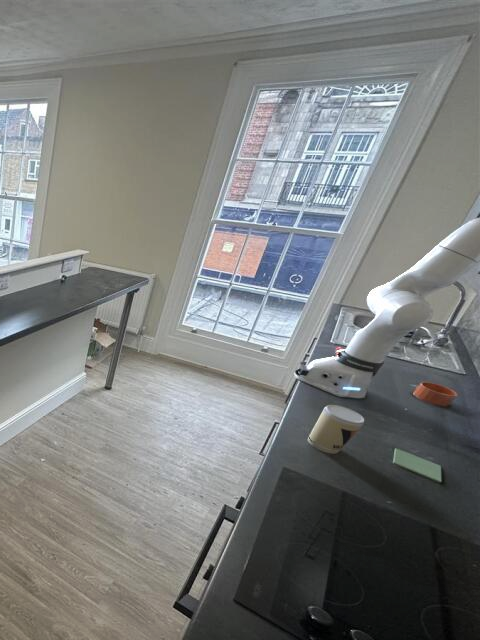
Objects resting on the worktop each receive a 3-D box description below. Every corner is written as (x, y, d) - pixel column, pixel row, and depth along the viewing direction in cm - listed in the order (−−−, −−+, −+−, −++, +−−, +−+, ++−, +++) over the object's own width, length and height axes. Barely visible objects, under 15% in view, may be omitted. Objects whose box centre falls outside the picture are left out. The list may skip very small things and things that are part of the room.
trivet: (392, 463, 116) (394, 462, 116) (394, 449, 122) (395, 448, 122) (440, 483, 110) (441, 481, 110) (439, 466, 117) (440, 465, 116)
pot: (411, 398, 152) (420, 387, 149) (412, 389, 158) (420, 379, 155) (448, 410, 146) (458, 399, 143) (447, 401, 152) (457, 390, 150)
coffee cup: (332, 459, 116) (356, 426, 109) (298, 439, 123) (319, 407, 116) (347, 450, 120) (372, 418, 113) (313, 432, 127) (334, 401, 120)
